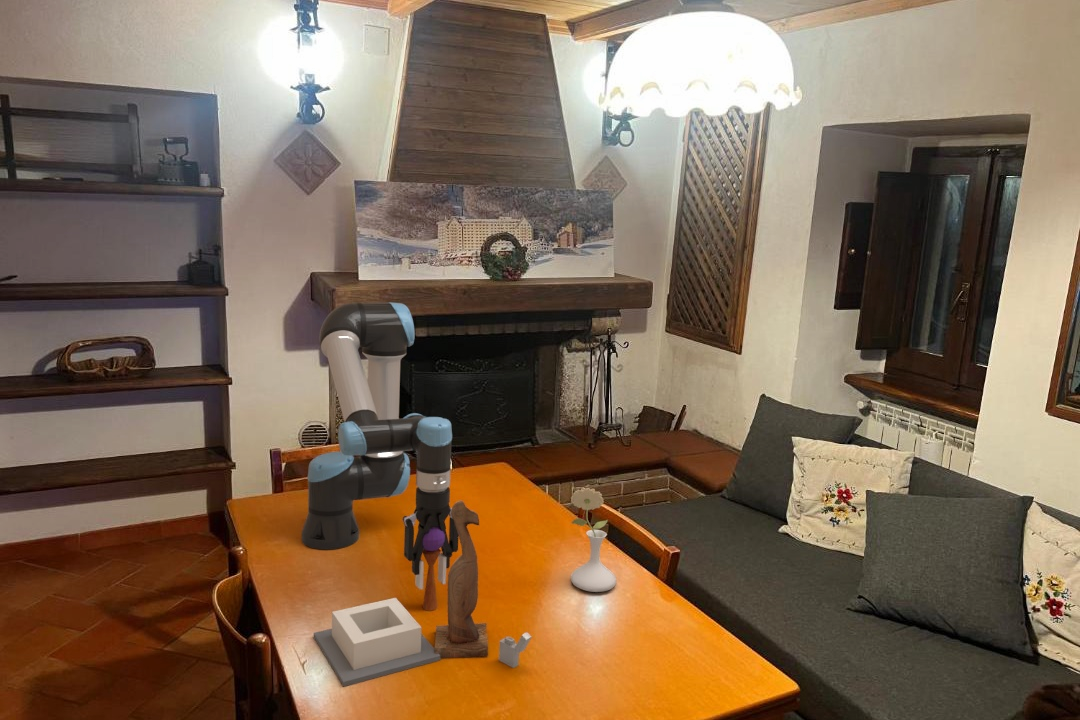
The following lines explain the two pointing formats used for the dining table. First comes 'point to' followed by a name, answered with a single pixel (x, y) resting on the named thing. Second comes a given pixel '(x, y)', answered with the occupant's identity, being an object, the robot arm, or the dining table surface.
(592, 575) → the flower in vase
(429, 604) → the kendama
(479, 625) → the bird sculpture
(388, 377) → the robot arm
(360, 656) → the socket
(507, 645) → the lighter
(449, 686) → the dining table surface
